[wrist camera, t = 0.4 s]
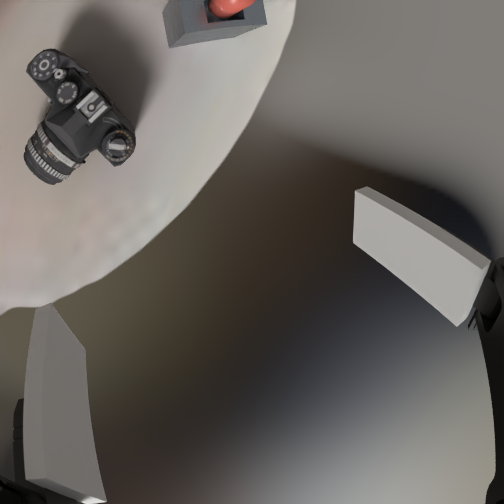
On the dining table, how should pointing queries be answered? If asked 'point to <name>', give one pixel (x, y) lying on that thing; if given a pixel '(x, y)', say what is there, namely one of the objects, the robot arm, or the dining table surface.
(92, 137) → the camera
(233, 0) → the plunger
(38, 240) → the dining table surface
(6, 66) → the dining table surface
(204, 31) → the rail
